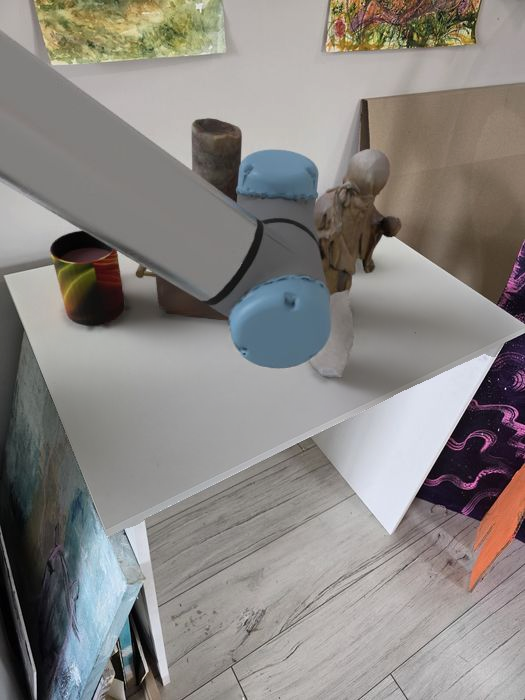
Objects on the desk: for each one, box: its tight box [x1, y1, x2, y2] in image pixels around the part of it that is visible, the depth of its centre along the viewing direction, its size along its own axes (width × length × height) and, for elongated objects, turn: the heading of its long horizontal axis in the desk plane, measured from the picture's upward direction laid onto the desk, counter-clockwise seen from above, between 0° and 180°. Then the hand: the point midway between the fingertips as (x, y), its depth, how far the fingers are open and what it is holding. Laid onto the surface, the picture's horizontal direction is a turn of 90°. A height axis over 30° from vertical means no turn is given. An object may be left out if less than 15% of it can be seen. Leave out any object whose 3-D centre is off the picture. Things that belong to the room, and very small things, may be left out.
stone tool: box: [307, 290, 355, 378], centre depth 71 cm, size 9×3×15 cm, turn 41°
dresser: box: [162, 278, 229, 321], centre depth 85 cm, size 16×13×10 cm
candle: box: [191, 117, 243, 203], centre depth 75 cm, size 8×7×20 cm
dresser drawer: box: [134, 264, 165, 309], centre depth 85 cm, size 19×11×8 cm, turn 86°
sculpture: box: [314, 148, 403, 295], centre depth 76 cm, size 16×11×30 cm
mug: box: [49, 230, 126, 327], centre depth 81 cm, size 10×14×12 cm
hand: (211, 177), depth 77 cm, fingers open, 12 cm apart
